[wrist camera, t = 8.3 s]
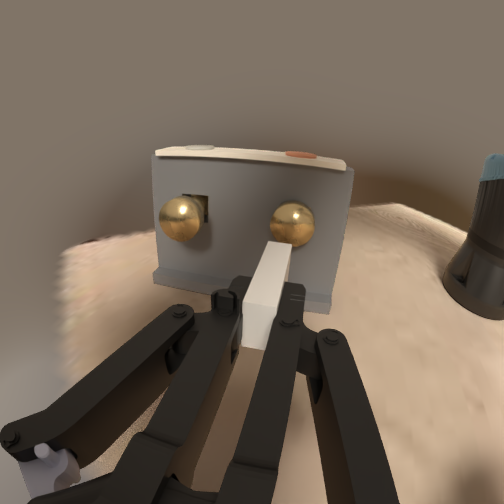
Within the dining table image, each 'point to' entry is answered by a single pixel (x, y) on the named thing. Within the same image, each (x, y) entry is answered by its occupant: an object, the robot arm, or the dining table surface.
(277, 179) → the console
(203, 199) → the knob
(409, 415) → the dining table surface
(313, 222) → the brass knob
